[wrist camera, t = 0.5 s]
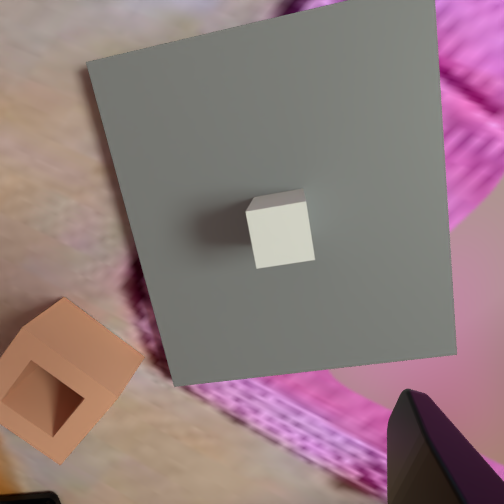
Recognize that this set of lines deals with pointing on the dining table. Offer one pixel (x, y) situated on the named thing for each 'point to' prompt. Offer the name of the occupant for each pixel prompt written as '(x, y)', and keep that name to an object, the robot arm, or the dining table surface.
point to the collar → (62, 378)
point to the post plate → (288, 190)
